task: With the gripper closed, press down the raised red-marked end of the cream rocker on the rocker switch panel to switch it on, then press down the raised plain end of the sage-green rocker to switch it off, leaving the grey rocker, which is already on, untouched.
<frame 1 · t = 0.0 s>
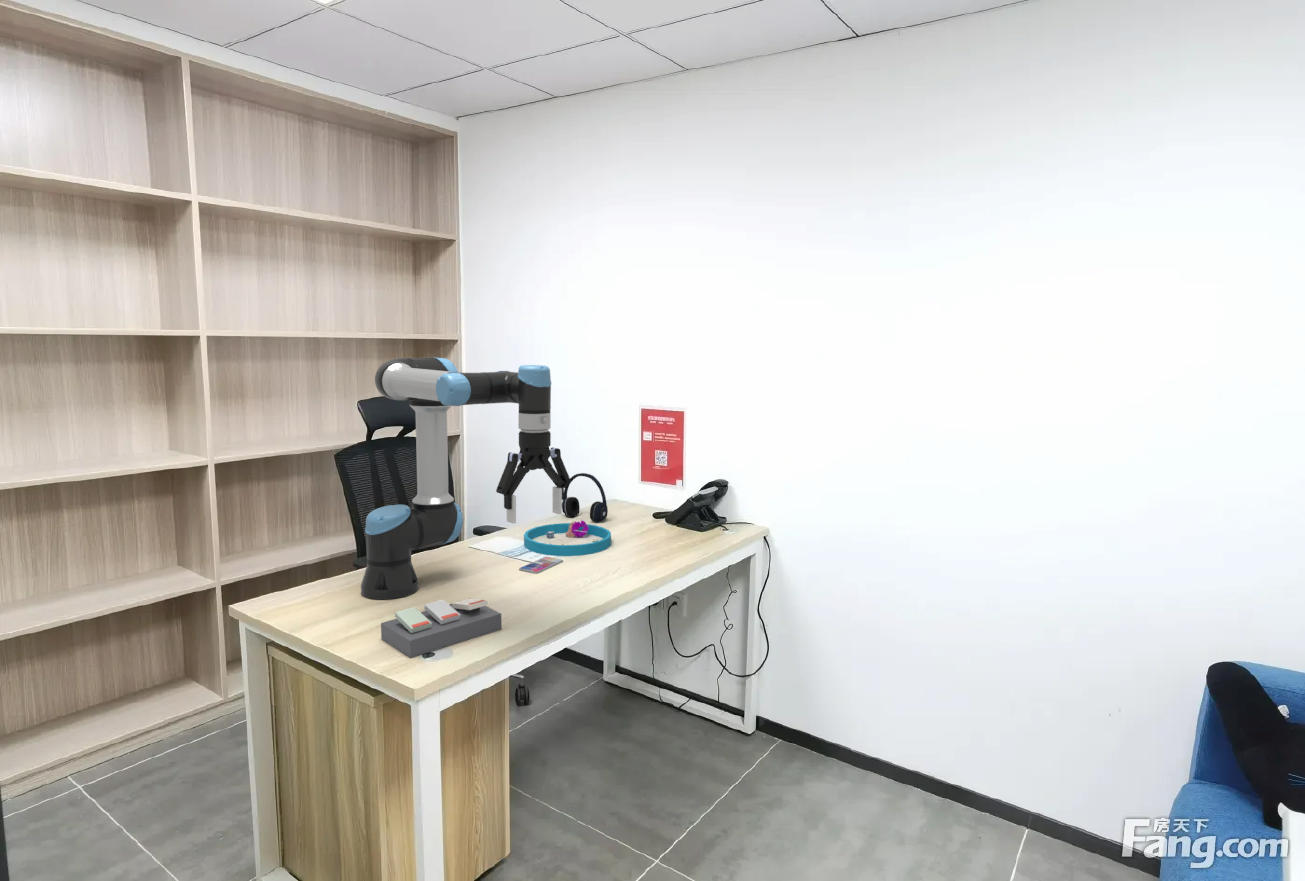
hand: (534, 517, 178), 28 cm above the table, tool pointing down, fingers open, 13 cm apart
smartphone: (541, 567, 232), on the table
rocker switch panel: (442, 634, 178), on the table
teal round tray: (567, 545, 257), on the table
cream rocker: (469, 603, 182), point 6 cm above the table, hinge at -12.0°
sage rocker: (413, 619, 171), point 6 cm above the table, hinge at 12.0°
headphones: (584, 519, 291), on the table
grey rocker: (442, 611, 177), point 6 cm above the table, hinge at 12.0°
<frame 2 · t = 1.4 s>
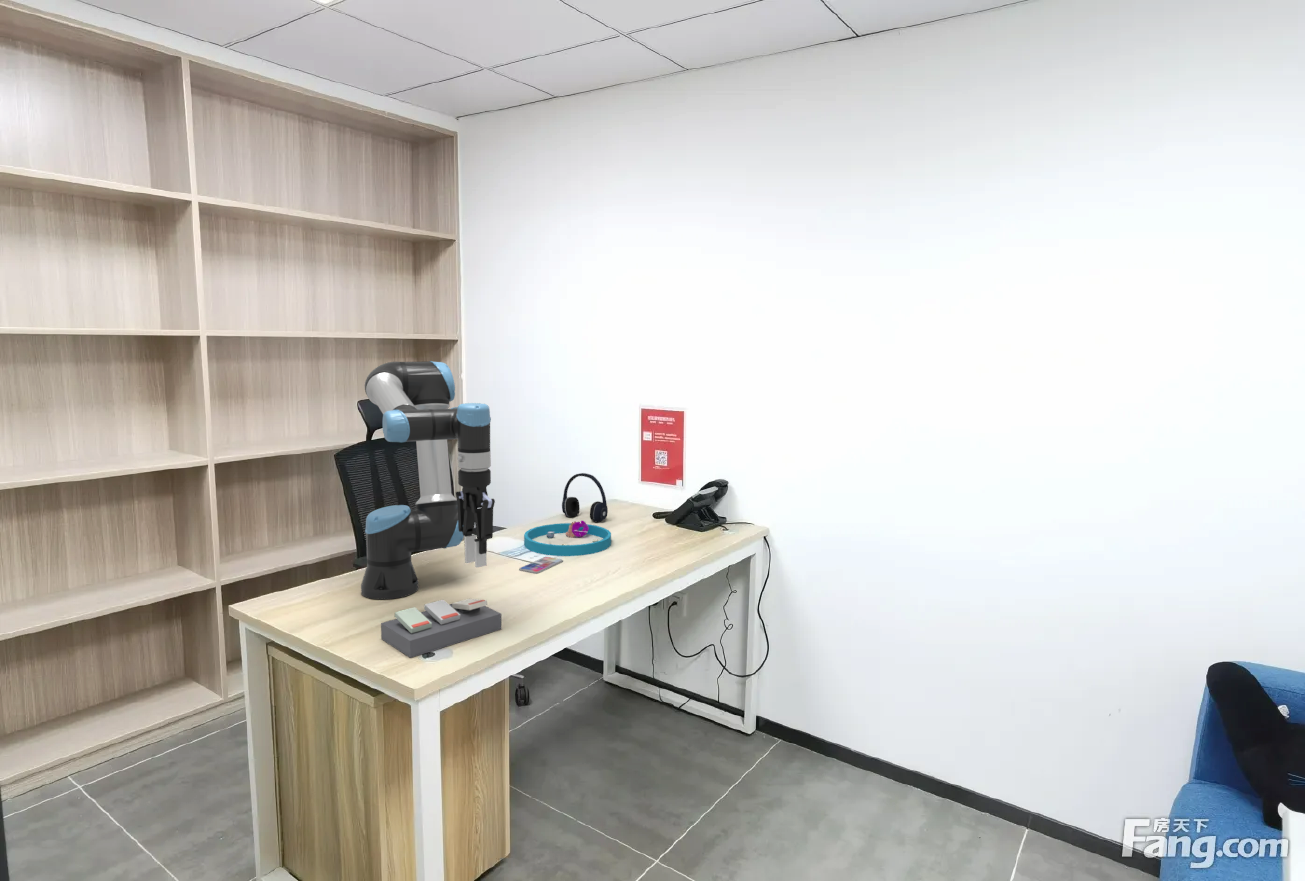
hand: (475, 563, 178), 17 cm above the table, tool pointing down, fingers open, 4 cm apart
nothing on the table moved.
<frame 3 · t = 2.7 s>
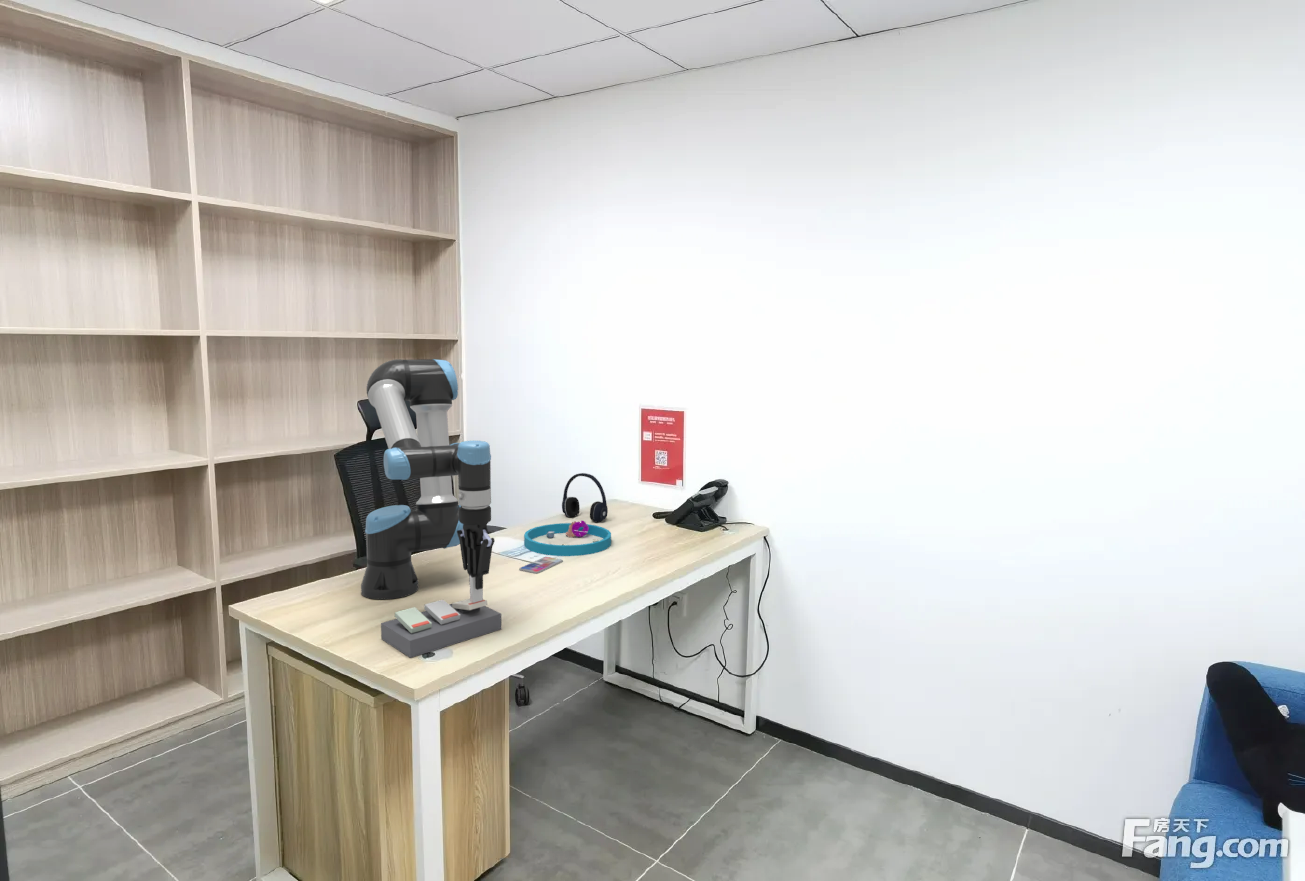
hand: (476, 600, 180), 7 cm above the table, tool pointing down, fingers closed
cream rocker: (469, 603, 182), point 6 cm above the table, hinge at -12.0°, touching gripper
everything else where it was.
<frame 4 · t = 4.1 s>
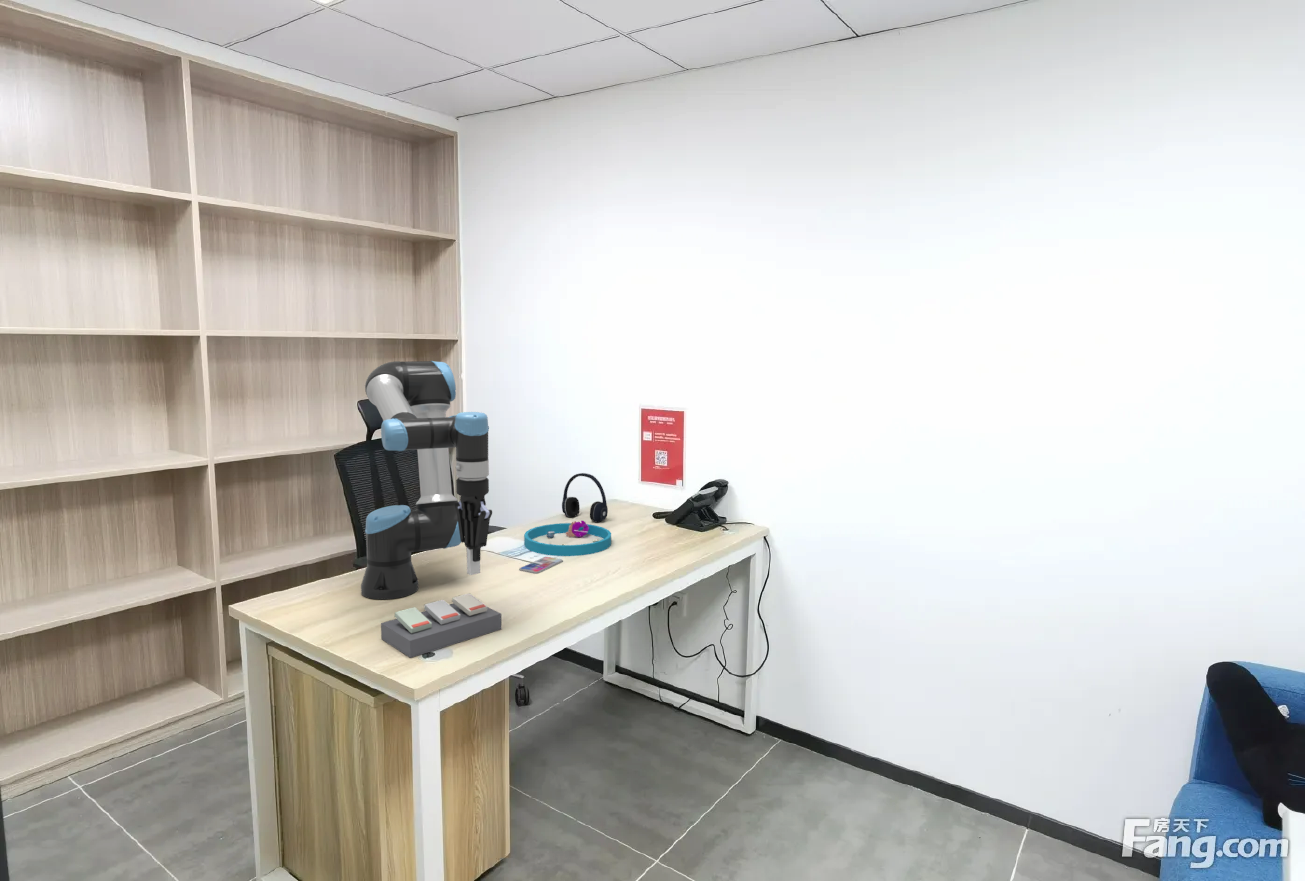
hand: (473, 573, 179), 14 cm above the table, tool pointing down, fingers closed
cream rocker: (469, 603, 182), point 6 cm above the table, hinge at 9.4°
everything else where it was.
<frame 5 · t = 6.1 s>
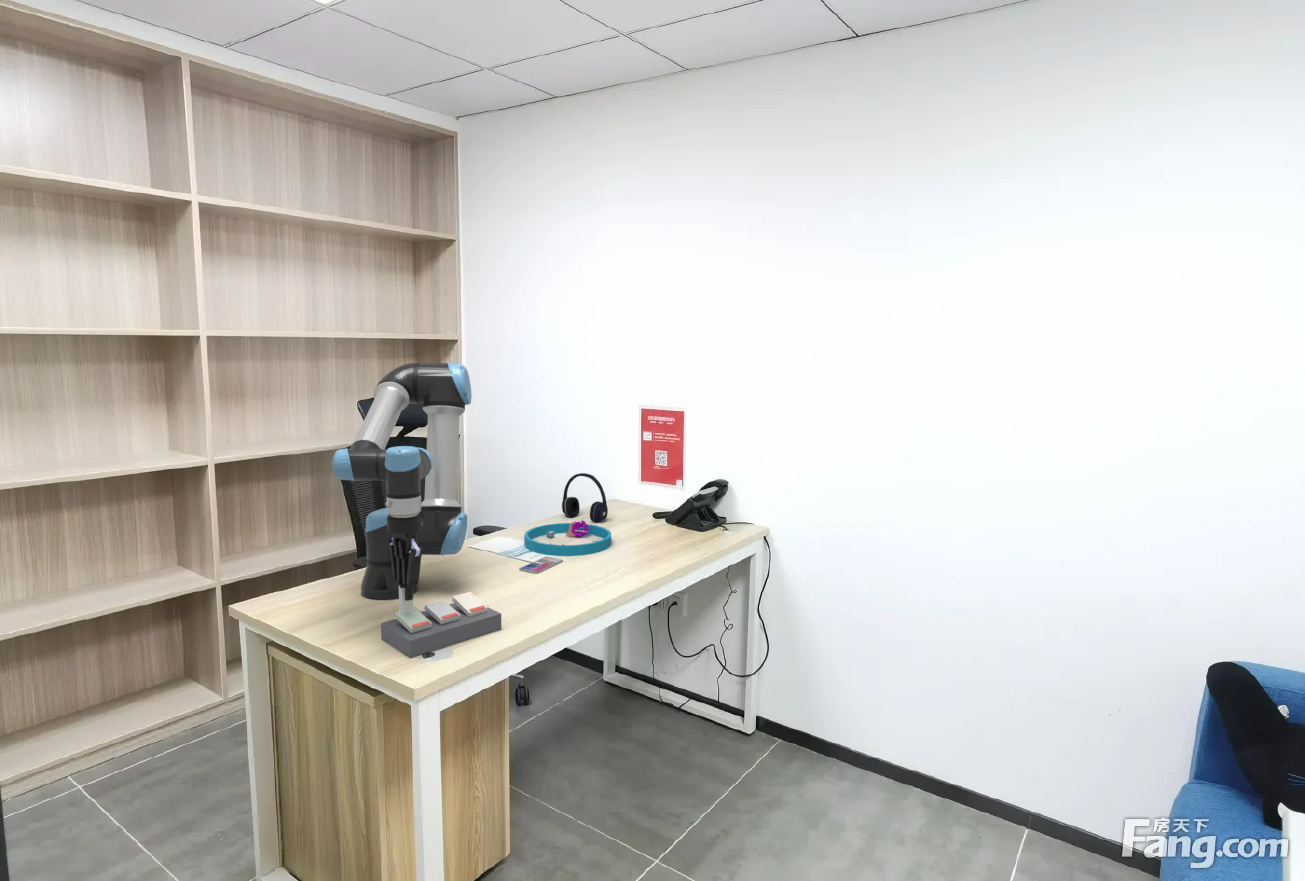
hand: (406, 612, 173), 7 cm above the table, tool pointing down, fingers closed
cream rocker: (469, 603, 182), point 6 cm above the table, hinge at 14.8°, touching rocker switch panel
sage rocker: (413, 619, 171), point 6 cm above the table, hinge at 12.0°, touching gripper
everything else where it was.
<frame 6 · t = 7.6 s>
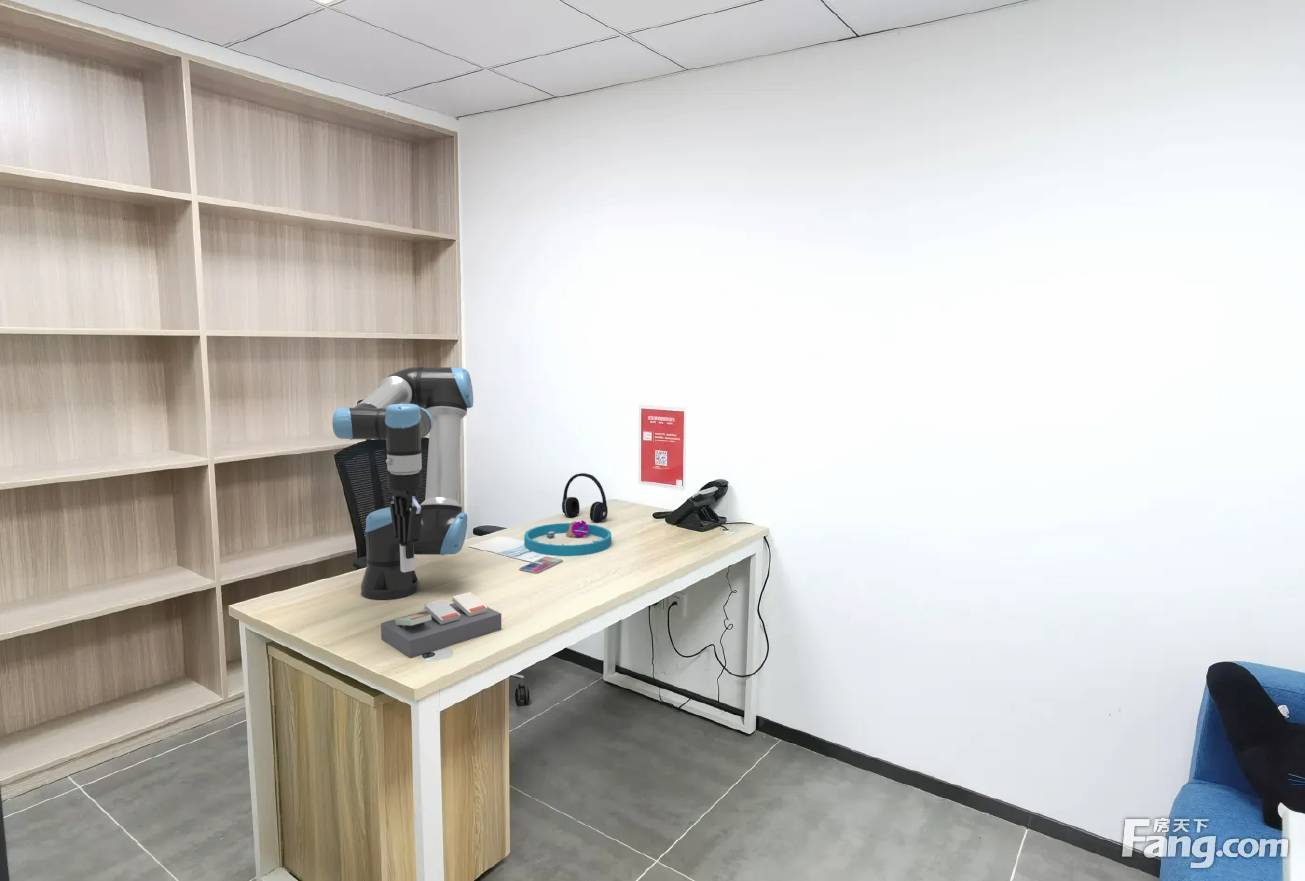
hand: (407, 570, 173), 16 cm above the table, tool pointing down, fingers closed
cream rocker: (469, 603, 182), point 6 cm above the table, hinge at 13.8°
sage rocker: (413, 619, 171), point 6 cm above the table, hinge at -15.7°, touching rocker switch panel
everything else where it was.
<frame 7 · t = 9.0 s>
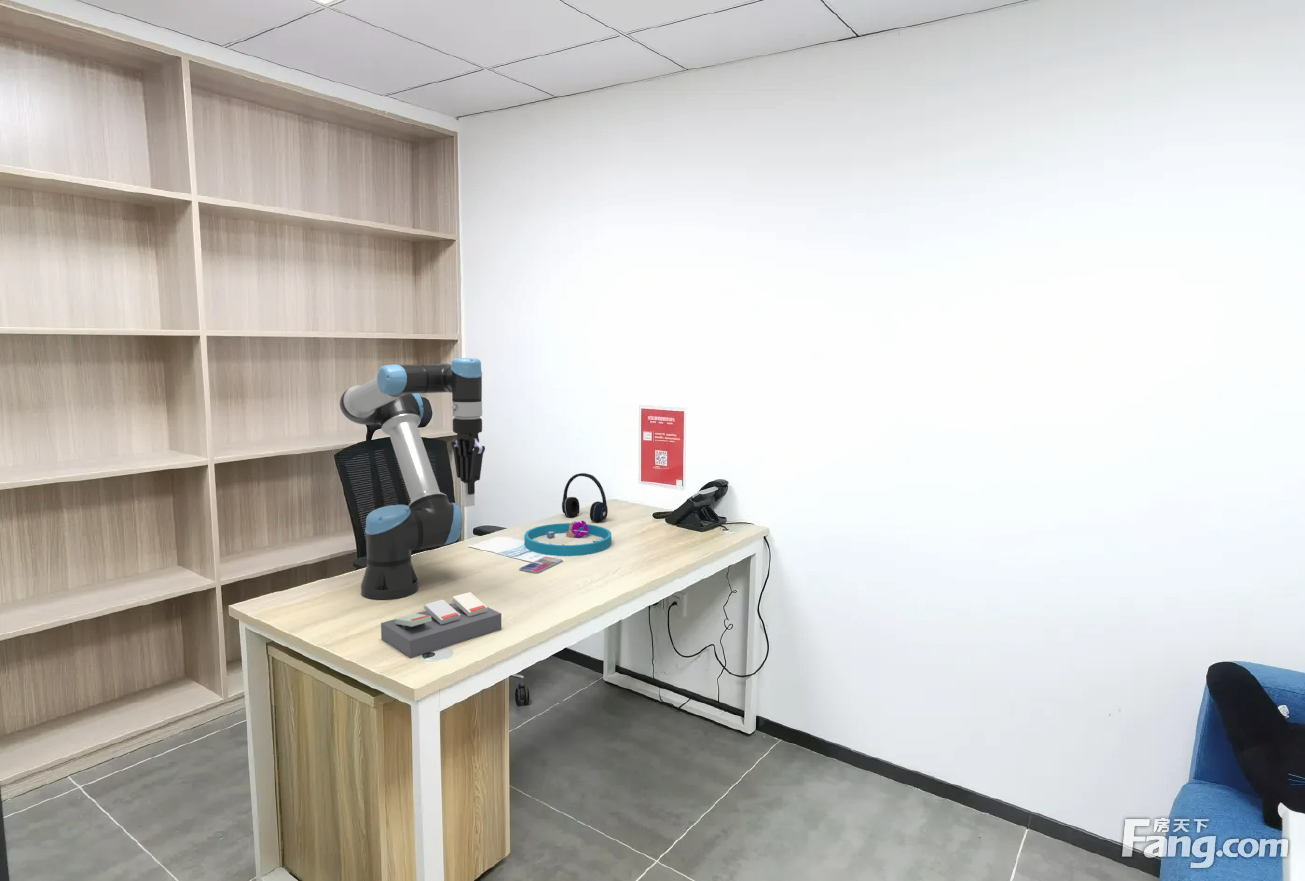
hand: (468, 505, 196), 26 cm above the table, tool pointing down, fingers closed
cream rocker: (469, 603, 182), point 6 cm above the table, hinge at 13.5°
sage rocker: (413, 619, 171), point 6 cm above the table, hinge at -12.1°
everything else where it was.
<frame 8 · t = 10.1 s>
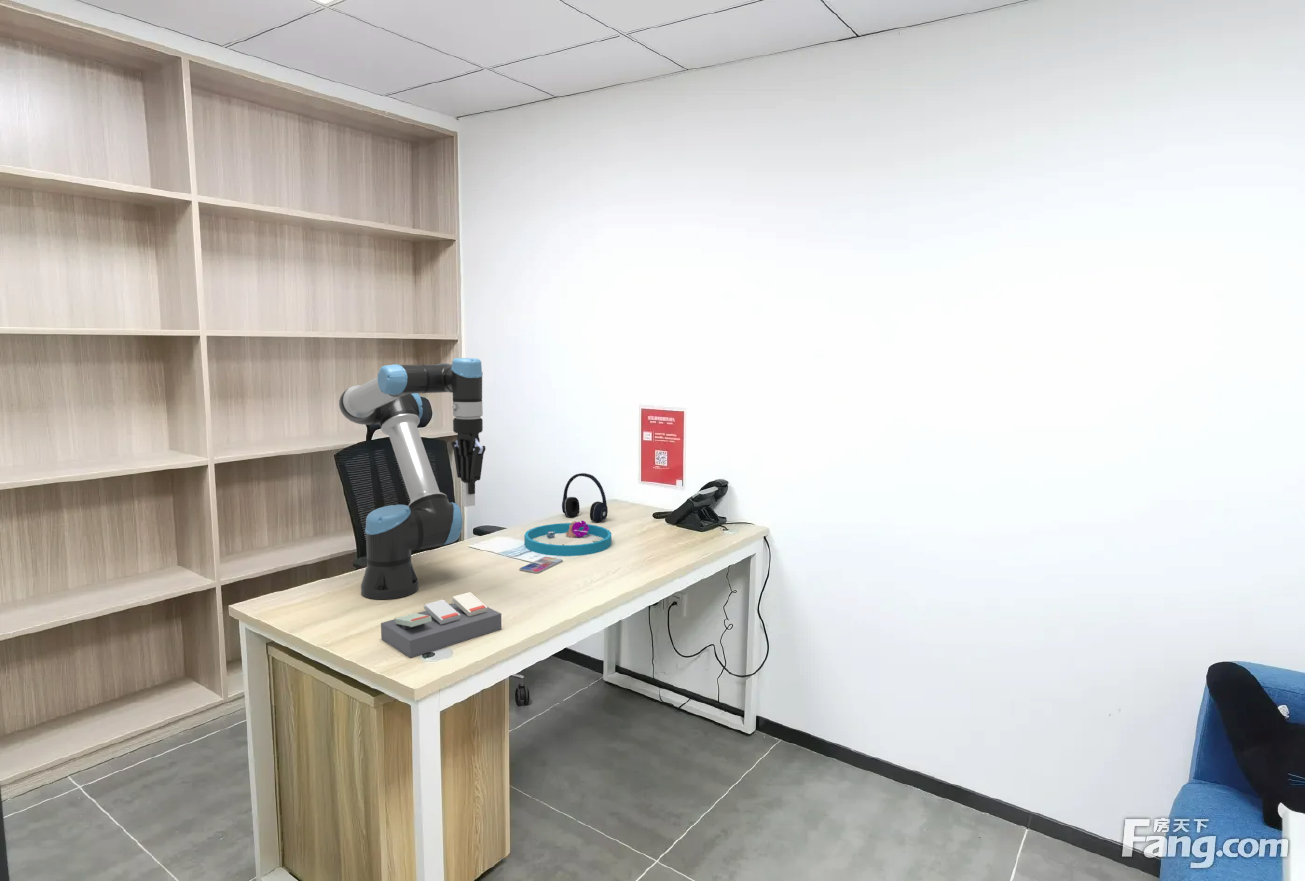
hand: (469, 505, 196), 26 cm above the table, tool pointing down, fingers closed
sage rocker: (413, 619, 171), point 6 cm above the table, hinge at -11.0°
everything else where it was.
at the end: cream rocker at +13° (first picture: -12°); sage rocker at -11° (first picture: +12°); grey rocker at +12° (first picture: +12°) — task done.
